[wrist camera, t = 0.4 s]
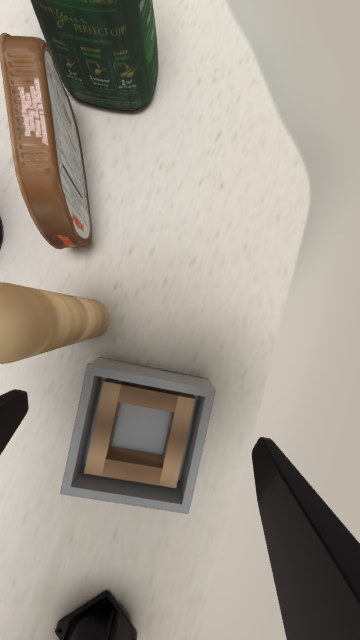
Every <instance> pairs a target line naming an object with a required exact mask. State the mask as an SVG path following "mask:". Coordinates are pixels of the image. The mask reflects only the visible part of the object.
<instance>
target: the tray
mask: <svg viewBox="0 0 360 640" xmlns="http://www.w3.org/2000/svg"><path fill="white" fill-rule="evenodd" d="M106 378H110V379H115V380H120V381H125V382H131V383H136V384H141V385H146V386H151V387H156V388H162V389H167V390H172V391H177V392H182V393H188V394H193V395H194V396H195V403H194V408H193V413H192V417H191V422H190V426H189V431H188V435H187V440H186V445H185V449H184V454H183V458H182V463H181V468H180V472H179V477H178V481H177V486H176V488H171V487H165V486H159V485H153V484H147V483H141V482H135V481H128V480H122V479H116V478H110V477H104V476H98V475H92V474H86V473H84V470H85V466H86V461H87V456H88V451H89V447H90V442H91V437H92V433H93V428H94V423H95V418H96V414H97V409H98V404H99V400H100V395H101V390H102V386H103V381H104V380H105V379H106ZM215 391H216V390H215V388H214V387H213V385H212V384H211V382H210V381H209V379H206V378H201V377H196V376H191V375H186V374H181V373H176V372H171V371H166V370H161V369H156V368H151V367H146V366H141V365H136V364H131V363H126V362H121V361H116V360H111V359H106V358H101V357H99V358H98V359H96V360H95V361H93V362H91V363H90V364H88V365H87V368H86V373H85V378H84V383H83V387H82V392H81V397H80V401H79V406H78V411H77V416H76V420H75V425H74V430H73V435H72V439H71V444H70V449H69V453H68V458H67V463H66V468H65V472H64V477H63V482H62V487H61V491H60V494H63V495H70V496H76V497H83V498H89V499H95V500H102V501H108V502H115V503H121V504H128V505H134V506H140V507H147V508H153V509H160V510H166V511H172V512H179V513H185V514H189V510H190V505H191V501H192V496H193V491H194V487H195V482H196V478H197V473H198V469H199V464H200V459H201V455H202V450H203V446H204V441H205V437H206V432H207V428H208V423H209V418H210V414H211V409H212V405H213V400H214V396H215ZM171 416H172V412H168V411H163V410H157V409H152V408H146V407H141V406H136V405H130V404H125V403H120V406H119V411H118V415H117V420H116V425H115V429H114V434H113V439H112V443H111V446H114V447H120V448H126V449H131V450H137V451H143V452H149V453H154V454H160V455H163V453H164V448H165V444H166V439H167V435H168V430H169V425H170V421H171Z"/></svg>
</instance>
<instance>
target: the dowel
mask: <svg viewBox="0 0 360 640" xmlns="http://www.w3.org/2000/svg"><path fill="white" fill-rule="evenodd" d="M108 325H109V313H108V311H107V309H106V307H105V306H104V305H103V304H101V303H100V302H98V301H95V300H90V299H85V298H80V297H75V296H70V295H65V294H60V293H55V292H50V291H45V290H40V289H34V288H29V287H24V286H19V285H14V284H9V283H0V364H5V363H11V362H15V361H19V360H22V359H25V358H28V357H32V356H35V355H38V354H41V353H45V352H48V351H51V350H54V349H58V348H61V347H64V346H67V345H71V344H74V343H77V342H80V341H84V340H87V339H90V338H93V337H97V336H99V335H101V334H102V333H103V332H104V331H105V330H106V329H107V327H108Z"/></svg>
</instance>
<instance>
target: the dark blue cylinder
mask: <svg viewBox="0 0 360 640" xmlns="http://www.w3.org/2000/svg"><path fill="white" fill-rule="evenodd" d="M2 242H3V225H2V221H1V218H0V249H1V246H2Z"/></svg>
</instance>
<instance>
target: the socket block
mask: <svg viewBox="0 0 360 640" xmlns="http://www.w3.org/2000/svg"><path fill="white" fill-rule="evenodd" d="M120 403H125V404H130V405H136V406H141V407H146V408H152V409H157V410H163V411H168V412H172V416H171V421H170V425H169V430H168V435H167V439H166V444H165V448H164V453H163V455H160V454H154V453H149V452H143V451H137V450H131V449H126V448H120V447H114V446H111V443H112V439H113V434H114V429H115V425H116V420H117V415H118V411H119V406H120ZM194 403H195V396H194V395H193V394H188V393H182V392H177V391H172V390H167V389H162V388H156V387H151V386H146V385H141V384H136V383H131V382H125V381H120V380H115V379H110V378H106V379H105V380H104V381H103V386H102V390H101V395H100V400H99V404H98V409H97V414H96V418H95V423H94V428H93V433H92V437H91V442H90V447H89V451H88V456H87V461H86V466H85V470H84V473H86V474H92V475H98V476H104V477H110V478H116V479H122V480H128V481H135V482H141V483H147V484H153V485H159V486H165V487H171V488H176V486H177V481H178V477H179V472H180V468H181V463H182V458H183V454H184V449H185V445H186V440H187V435H188V431H189V426H190V422H191V417H192V413H193V408H194Z"/></svg>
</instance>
